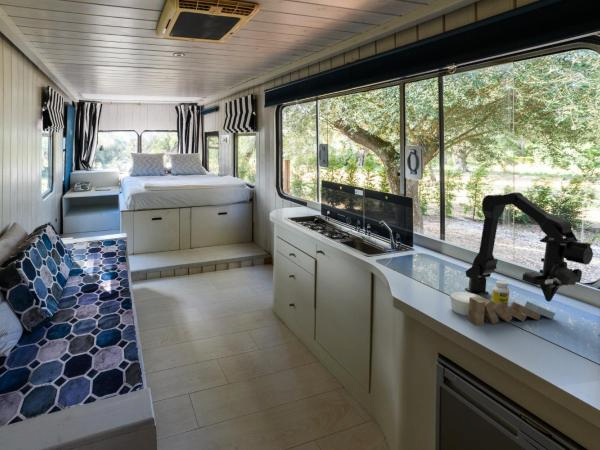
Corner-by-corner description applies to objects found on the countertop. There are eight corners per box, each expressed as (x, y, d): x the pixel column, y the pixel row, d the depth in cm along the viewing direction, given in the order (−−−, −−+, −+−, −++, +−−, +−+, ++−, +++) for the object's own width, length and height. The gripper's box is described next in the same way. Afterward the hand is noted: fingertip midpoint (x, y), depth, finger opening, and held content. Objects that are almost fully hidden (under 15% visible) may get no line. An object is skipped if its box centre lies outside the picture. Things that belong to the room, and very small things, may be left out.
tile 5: (467, 319, 139) (469, 297, 138) (473, 319, 140) (475, 296, 138) (477, 325, 134) (479, 302, 133) (483, 325, 135) (485, 302, 133)
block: (541, 313, 146) (524, 306, 143) (543, 307, 146) (527, 301, 143) (552, 319, 141) (535, 312, 139) (555, 313, 141) (538, 306, 139)
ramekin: (488, 318, 141) (490, 303, 140) (455, 317, 141) (456, 302, 140) (475, 305, 152) (476, 292, 151) (445, 305, 152) (446, 291, 151)
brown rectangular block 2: (526, 314, 144) (510, 307, 142) (529, 309, 144) (513, 301, 142) (538, 320, 140) (521, 312, 137) (541, 314, 139) (524, 306, 137)
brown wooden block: (498, 317, 142) (484, 304, 139) (502, 312, 142) (488, 299, 139) (508, 323, 137) (494, 309, 135) (512, 317, 137) (498, 304, 135)
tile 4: (483, 318, 140) (475, 299, 138) (488, 314, 141) (480, 296, 138) (493, 324, 136) (485, 305, 133) (498, 320, 136) (490, 301, 134)
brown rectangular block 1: (512, 315, 143) (496, 306, 141) (516, 310, 143) (499, 301, 141) (523, 321, 138) (506, 312, 136) (526, 316, 138) (510, 306, 136)
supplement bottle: (498, 311, 147) (501, 284, 145) (487, 305, 152) (490, 280, 150) (510, 309, 148) (513, 283, 147) (499, 304, 154) (502, 279, 152)
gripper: (550, 265, 130) (544, 312, 132) (598, 262, 134) (591, 308, 137) (523, 256, 140) (518, 299, 143) (569, 253, 145) (563, 296, 147)
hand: (548, 301), depth 142 cm, fingers closed
